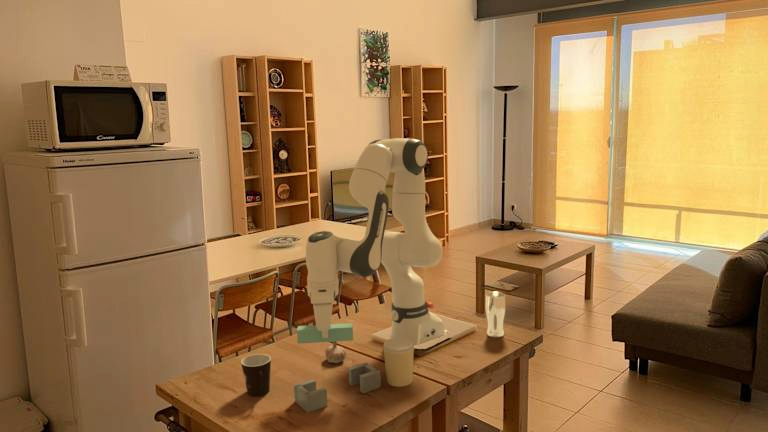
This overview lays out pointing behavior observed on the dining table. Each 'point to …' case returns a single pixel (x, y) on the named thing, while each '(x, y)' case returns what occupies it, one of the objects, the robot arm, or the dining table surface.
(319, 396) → the cap
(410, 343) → the coffee cup
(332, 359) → the garlic bulb
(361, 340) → the dining table surface
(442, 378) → the dining table surface
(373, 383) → the cap
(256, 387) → the coffee mug
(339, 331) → the slat
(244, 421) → the dining table surface
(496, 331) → the beer glass
